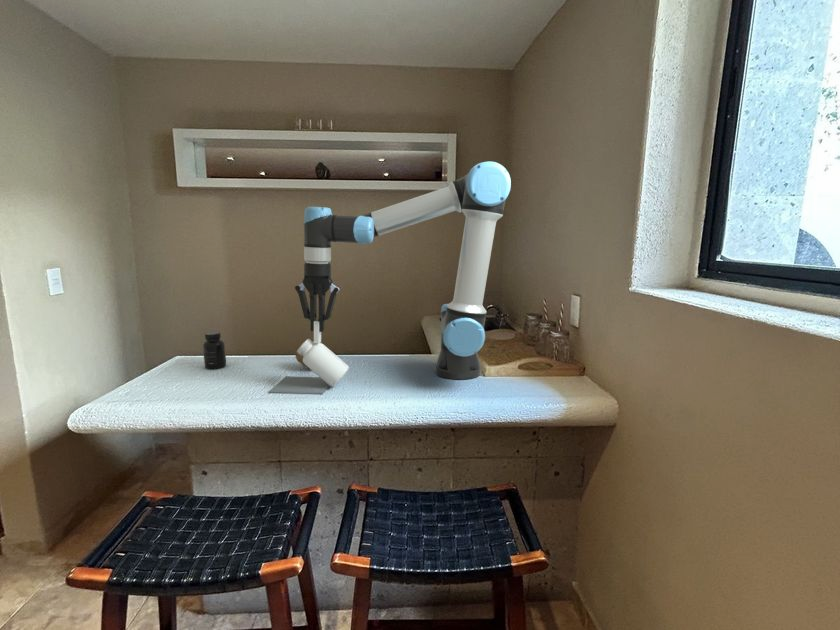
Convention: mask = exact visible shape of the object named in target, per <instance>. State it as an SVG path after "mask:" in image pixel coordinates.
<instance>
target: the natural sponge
mask: <svg viewBox="0 0 840 630" xmlns="http://www.w3.org/2000/svg"><path fill="white" fill-rule="evenodd" d="M304 342H305V341H303V342H302V343H300V345H299V346H298V348H297V350H298V349H299V348H300V347H301V346H302V344H303V343H304ZM312 342H314V340H312ZM314 344H316V343H314ZM303 357H304V356H303V355H301V354H299V353H298V352H297V351H296V353H295V359H296V361H297V362H298V363H300V364H301V366H303V367H305V369H308V370H311V369H310V368H309V367H307V366H306V365H305V364H304V363H303ZM311 371H312V370H311Z"/></svg>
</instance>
